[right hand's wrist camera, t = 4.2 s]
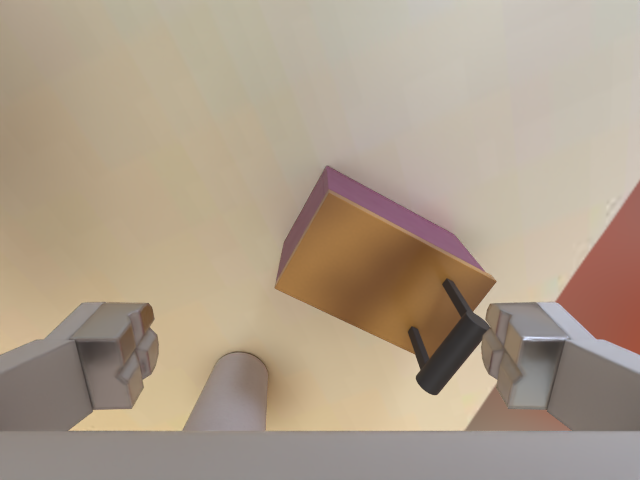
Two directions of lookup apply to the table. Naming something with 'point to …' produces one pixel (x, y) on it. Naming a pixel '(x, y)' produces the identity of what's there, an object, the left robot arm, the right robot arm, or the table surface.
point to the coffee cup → (232, 396)
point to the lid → (389, 286)
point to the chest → (376, 205)
